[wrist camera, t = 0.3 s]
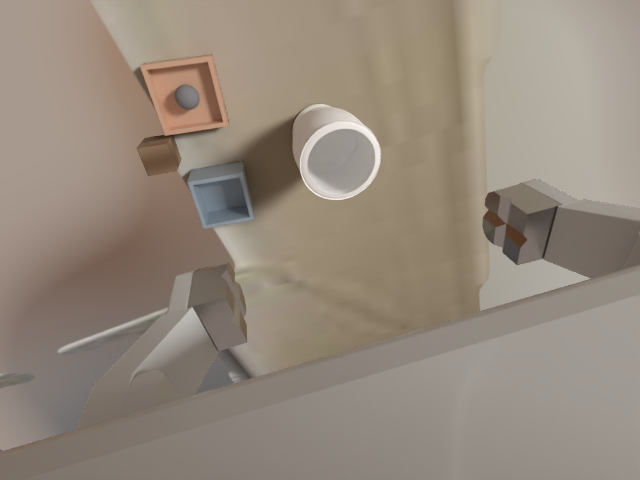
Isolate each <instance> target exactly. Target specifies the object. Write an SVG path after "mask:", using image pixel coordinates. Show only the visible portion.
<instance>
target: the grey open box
mask: <svg viewBox="0 0 640 480" xmlns="http://www.w3.org/2000/svg"><path fill="white" fill-rule="evenodd" d="M187 183H188V186H189V189H190V192H191V194H192V197H193V200H194V203H195V206H196V209H197V211H198V214H199V217H200V220H201V223H202V226H203V229H206V228H212V227H217V226H222V225H228V224H233V223H238V222H244V221H249V220H254V210H253V203H252V199H251V195H250V190H249V186H248V182H247V178H246V174H245V170H244V165H243V161H241V162H235V163H229V164H223V165H217V166H211V167H205V168H199V169H193V170H191V172H190V175H189V178H188V182H187Z"/></svg>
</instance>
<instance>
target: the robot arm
mask: <svg viewBox="0 0 640 480" xmlns="http://www.w3.org/2000/svg"><path fill="white" fill-rule="evenodd" d="M485 206H486V208H487V209H488V211H487V213H486V214H485V215H484V217H483V230H484V233H485V235H486V237H487V239H488V240H489V241H490V242H491V243H492V244H494V245H497V246H500V247H503V253H504V254H505V255H506V256H507V257H508V258H509V259H511V260H512V261H513V262H514V263H515V264H516V265H520V264H524V263H528V262H531V261H535V260H539V259H544V260H546V261H548V262H551V263H553V264H556V265H559V266H561V267H563V268H566V269H568V270H571V271H573V272H576V273H578V274H581V275H584V276H586V277H589V278H591V279H589V280H586V281H582V282H579V283H576V284H572V285H568V286H565V287H562V288H558V289H555V290H551V291H548V292H544V293H541V294H538V295H534V296H531V297H527V298H524V299H521V300H517V301H514V302H510V303H506V304H503V305H500V306H496V307H493V308H490V309H486V310H483V311H479V312H476V313H472V314H469V315H465V316H462V317H459V318H455V319H452V320H448V321H445V322H442V323H438V324H435V325H431V326H428V327H425V328H421V329H418V330H414V331H411V332H408V333H404V334H401V335H397V336H394V337H391V338H387V339H384V340H380V341H377V342H374V343H370V344H367V345H363V346H360V347H357V348H353V349H350V350H346V351H343V352H340V353H336V354H333V355H329V356H326V357H323V358H319V359H316V360H312V361H309V362H305V363H302V364H299V365H295V366H292V367H288V368H285V369H282V370H278V371H275V372H271V373H268V374H265V375H261V376H258V377H254V378H251V379H247V380H244V381H241V382H237V383H234V384H230V385H227V386H224V387H220V388H217V389H213V390H210V391H207V392H203V393H200V394H197V395H195V393H196V391H197V389H198V388H199V386H200V384H201V382H202V381H203V379H204V377H205V375H206V374H207V372H208V370H209V368H210V367H211V365H212V363H213V361H214V360H215V358H216V356H217V354H218V351H221V350H224V349H227V348H230V347H234V346H237V345H240V344H243V343H246V342H247V325H246V322H245V320H244V318H243V317H244V316H245V314H246V305H245V299H244V295H243V292H242V289H241V287H240V284H239V283H237V282H235V273H234V270H233V268H232V266H231V264H230V263H229V262H227V263H223V264H219V265H215V266H210V267H206V268H203V269H198V270H195V271H190V272H187V273H183V274H179V275H178V276H176V278H175V282H174V286H173V290H172V294H171V298H170V303H169V307H168V311H167V314H165V315H161V316H160V317H159V319H158V320H157V321H156V322H155V323H154V324H153V325H152V326H151V327H150V328H149V329H148V330H147V331H146V332H145V333H144V334H143V335H142V336H141V337H140V338H139V339H138V340H137V341H136V342H135V343H134V344H133V345H132V346H131V347H130V348H129V349H128V351H127V352H125V354H124V355H123V356H122V357H121V358H120V359H119V360H118V361H117V362H116V363H115V364H114V365H113V366H112V367H111V368H110V369H109V370H108V371H107V372H106V373H105V374H104V375H103V376H102V377H101V378H100V379H99V380H98V381H97V382H96V383H95V384H94V385H93V388H92V390H91V393H90V395H89V398H88V400H87V403H86V405H85V408H84V411H83V413H82V416H81V419H80V421H79V423H78V426H77V428H76V430H73V431H70V432H66V433H63V434H59V435H56V436H53V437H49V438H46V439H43V440H39V441H35V442H32V443H29V444H25V445H22V446H19V447H15V448H12V449H8V450H5V451H1V452H0V480H640V208H636V207H629V206H623V205H617V204H610V203H604V202H598V201H592V200H585V199H584V200H577V199H575V198H573V197H572V196H570V195H568V194H566V193H564V192H562V191H560V190H558V189H556V188H554V187H553V186H551V185H549V184H547V183H545V182H543V181H541V180H536V179H533V180H530V181H527V182H524V183H520V184H518V185H514V186H511V187H507V188H504V189H500V190H497V191H493V192H490V193H488V194H487V196H486V199H485Z"/></svg>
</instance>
